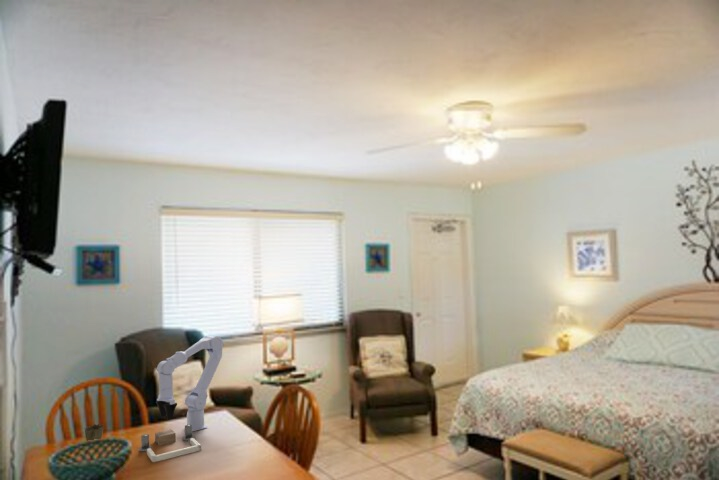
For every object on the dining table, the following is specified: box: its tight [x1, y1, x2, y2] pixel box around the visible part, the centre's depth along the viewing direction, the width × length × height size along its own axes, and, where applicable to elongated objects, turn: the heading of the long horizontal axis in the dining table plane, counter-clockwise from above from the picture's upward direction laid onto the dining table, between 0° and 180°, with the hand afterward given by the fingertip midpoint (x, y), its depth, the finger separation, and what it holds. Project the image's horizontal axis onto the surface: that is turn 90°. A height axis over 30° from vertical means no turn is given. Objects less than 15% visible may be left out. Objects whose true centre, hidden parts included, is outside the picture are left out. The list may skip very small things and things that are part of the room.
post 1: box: [138, 433, 153, 453], centre depth 202 cm, size 5×5×6 cm
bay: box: [146, 438, 202, 463], centre depth 197 cm, size 12×19×2 cm, turn 124°
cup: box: [84, 423, 104, 442], centre depth 211 cm, size 8×7×8 cm
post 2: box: [182, 424, 196, 442], centre depth 212 cm, size 5×5×6 cm
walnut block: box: [154, 428, 177, 446], centre depth 211 cm, size 7×7×4 cm
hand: (166, 417), depth 217 cm, fingers open, 7 cm apart
